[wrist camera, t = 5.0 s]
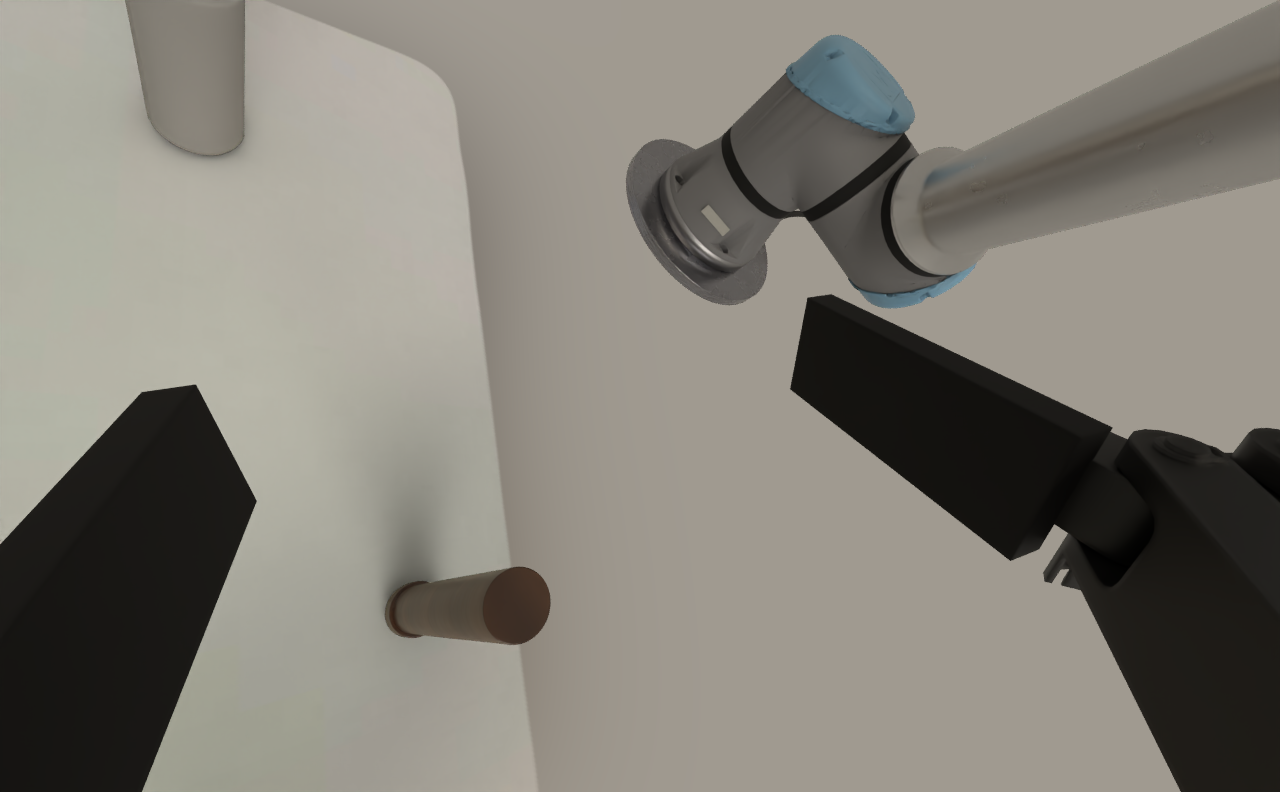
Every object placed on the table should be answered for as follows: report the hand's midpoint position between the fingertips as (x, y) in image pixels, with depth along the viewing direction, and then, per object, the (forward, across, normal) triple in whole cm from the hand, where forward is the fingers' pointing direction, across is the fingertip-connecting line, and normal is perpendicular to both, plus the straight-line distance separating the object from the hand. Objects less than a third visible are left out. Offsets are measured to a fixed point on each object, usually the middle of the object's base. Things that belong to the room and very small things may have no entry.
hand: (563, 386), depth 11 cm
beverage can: (+36, -16, +4) cm, 39 cm away
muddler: (+14, -8, -22) cm, 27 cm away
